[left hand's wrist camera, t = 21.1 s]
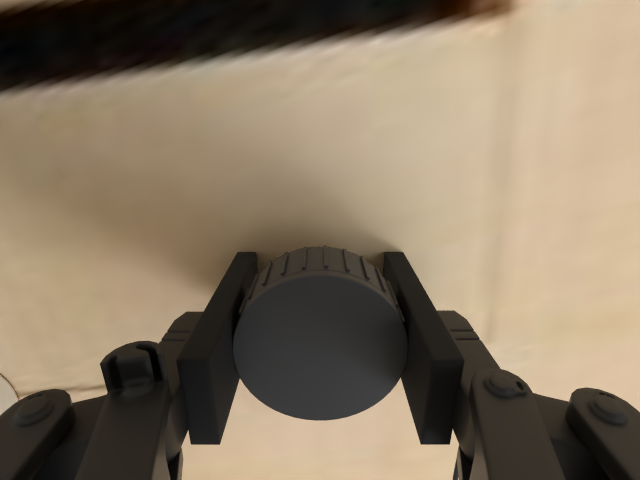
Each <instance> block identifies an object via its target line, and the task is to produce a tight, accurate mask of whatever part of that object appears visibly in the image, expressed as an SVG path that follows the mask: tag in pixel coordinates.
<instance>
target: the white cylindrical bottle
mask: <svg viewBox="0 0 640 480" xmlns="http://www.w3.org/2000/svg"><path fill="white" fill-rule="evenodd" d="M16 402H18V397H17V395H16V393H15V391H14V389H13V388H12V386H11V385H10V384H9V383H8V382H7V380H5V379H4V378H3V377H2V376H1V375H0V415H1V414H2V413H3V412H4V411H6V410H7V409H8V408H9V407H11V406H12V405H13V404H14V403H16Z"/></svg>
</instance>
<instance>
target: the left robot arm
mask: <svg viewBox="0 0 640 480" xmlns="http://www.w3.org/2000/svg"><path fill="white" fill-rule="evenodd" d="M257 273H258V271H257V257H256V252H238V253H237V254H236V256H235V258H234V260H233V261H232V263H231V265H230V267H229V268H228V270H227V272H226V274H225V275H224V277H223V279H222V281H221V282H220V284H219V286H218V288H217V289H216V291H215V293H214V295H213V296H212V298H211V300H210V302H209V303H208V305H207V307H206V309H205V310H204V312H186V313H184V314H183V315H181V316H180V317H179V318H177V319H176V320H175V321H174V322H173V323H172V325H171V326H170V328H169V329H168V332H167V333H166V334H165V335H164V337H163V338H162V341H160V342H159V344H158V343H155V342H151V341H137V342H133V343H129V344H126V345H123V346H121V347H119V348H117V349H115V350H113V351H112V352H111V353H109V354H108V355H107V356H105V358H104V359H103V360H102V362H101V363H100V366H101V369H102V373H103V377H104V380H105V384H106V387H107V391H108V393H107V395H104V396H101V397H97V398H92V399H88V400H84V401H79V402H75V403H72V401H71V398H70V395H69V394H68V393H67V392H66V391H64V390H59V389H51V390H44V391H40V392H37V393H35V394H32V395H29V396H27V397H25V398H23V399H21V400H20V401H18V402H16V403H14V404H13V405H12V406H11V407H9V408H8V409H7V410H6V411H4V412H3V413H2V414H1V415H0V480H181V477H182V466H183V454H182V448H181V446H182V443H183V441H184V439H185V436H186V434H187V431H188V430H189V436H190V441H191V444H213V445H220V442H221V439H222V436H223V432H224V429H225V426H226V422H227V419H228V416H229V412H230V409H231V406H232V402H233V399H234V396H235V392H236V389H237V386H238V382H239V379H240V377H239V375H238V372H237V370H236V367H235V364H234V359H233V349H232V343H233V336H234V331H235V328H236V326H237V323H238V320H239V317H240V316H239V315H238V312H239V310H240V307H241V305H242V302H243V299H244V297H245V294H246V292H247V289H248V288H249V289H250V288H251V286H252V284H253V281H254V278H255V276H256V274H257ZM383 277H384V279H385V280H386V281H389V283H390V285H391V288H392V290H393V293H394V295H395V297H396V299H397V302H398V304H399V307H400V309H401V312H402V314H403V317H404V319H405V322H406V324H404V326H405V329H406V333H407V337H408V355H407V362H406V365H405V369H404V371H403V373H402V376H401V380H402V383H403V386H404V390H405V393H406V396H407V400H408V403H409V406H410V410H411V413H412V416H413V420H414V423H415V426H416V430H417V433H418V436H419V440H420V443H421V444H450V440H451V434H452V429H453V430H454V433H455V435H456V437H457V440H458V442H459V448H458V453H457V459H456V464H455V469H454V475H453V480H458V476H459V480H640V412H639V411H638V410H636V409H635V408H634V407H633V406H631V405H630V404H629V403H628V402H626V401H624V400H622V399H621V398H619V397H617V396H615V395H613V394H611V393H608V392H605V391H602V390H599V389H593V388H580V389H577V390H575V391H574V392H573V393H572V394H571V397H570V401H569V402H567V401H563V400H559V399H554V398H550V397H546V396H542V395H538V394H535V393H532V391H531V389H530V388H529V386H528V385H527V383H525V382H524V381H523V380H522V379H521V378H519V377H518V376H516V375H514V374H512V373H510V372H508V371H506V370H502V369H500V367H499V366H498V364H497V363H496V362H495V360H494V359H493V357H492V356H491V354H490V353H489V351H488V350H487V348H486V347H485V346H484V344H483V343H482V341H481V340H479V337H478V335H477V334H476V333H475V332H474V331H473V328H472V327H471V325H470V324H469V322H468V321H467V319H465V318H464V317H462V316H461V315H460V314H458V313H457V312H455V311H436V309H435V307H434V305H433V304H432V302H431V300H430V298H429V297H428V295H427V293H426V291H425V290H424V288H423V286H422V284H421V283H420V281H419V279H418V277H417V276H416V274H415V272H414V270H413V269H412V267H411V265H410V263H409V262H408V260H407V258H406V256H405V255H404V253H403V252H385V254H384V268H383Z"/></svg>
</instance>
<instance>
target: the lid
mask: <svg viewBox="0 0 640 480" xmlns="http://www.w3.org/2000/svg"><path fill="white" fill-rule="evenodd" d="M238 315H239V316H240V317H239V320H238V323H237V326H236V328H235V331H234V336H233V343H232V349H233V359H234V364H235V367H236V370H237V372H238V375H239V377H240V379H241V380H242V382H243V383H244V385H245V386H246V387H247V389H248V390H249V391H250V392H251V393H252V394H253V395H254V396H255V397H256V398H257V399H258V400H260V401H261V402H262V403H264V404H265V405H267V406H268V407H270V408H272V409H274V410H276V411H278V412H280V413H283V414H285V415H289V416H292V417H295V418H300V419H306V420H333V419H340V418H344V417H348V416H351V415H355V414H357V413H360V412H362V411H364V410H366V409H368V408H370V407H372V406H373V405H375V404H376V403H378V402H379V401H380V400H382V399H383V398H384V397H385V396H386V395H387V394H388V393H389V392H390V391H391V390H392V389H393V388H394V387H395V385H396V384H397V382H398V381H399V379H400V377H401V376H402V373H403V371H404V369H405V365H406V362H407V355H408V337H407V333H406V329H405V326H404V324H406V322H405V319H404V317H403V314H402V312H401V309H400V307H399V304H398V302H397V299H396V297H395V295H394V293H393V290H392V288H391V285H390V283H389V281H386V280H385V279H384V277H383V276H382V275H381V273H380V271H379V268H378V267H376V268H375V267H374V266H373V265H372V264H370V263H369V262H367V261H366V260H365V259H364V257H363V256H361V257H359V256H357V255H355V254H353V253H350V252H348V251H347V250H346V249H343V250H341V249H337V248H330V247H327V246H324V247H311V248H307V247H304V248H303V249H300V250H296V251H293V252H290V253H288V252H286V253H285V254H284V255H283V256H281V257H279V258H278V259H276V260H274V261H273V262H271V261H270V262H269V263H268V266H267V267H266V268H265V269H264V270H262V271H261V273H260V274H258V273H257V274H256V276H255V278H254V281H253V284H252V286H251V288H250V289H249V288H248V289H247V292H246V294H245V297H244V299H243V302H242V305H241V307H240V310H239V312H238Z"/></svg>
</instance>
